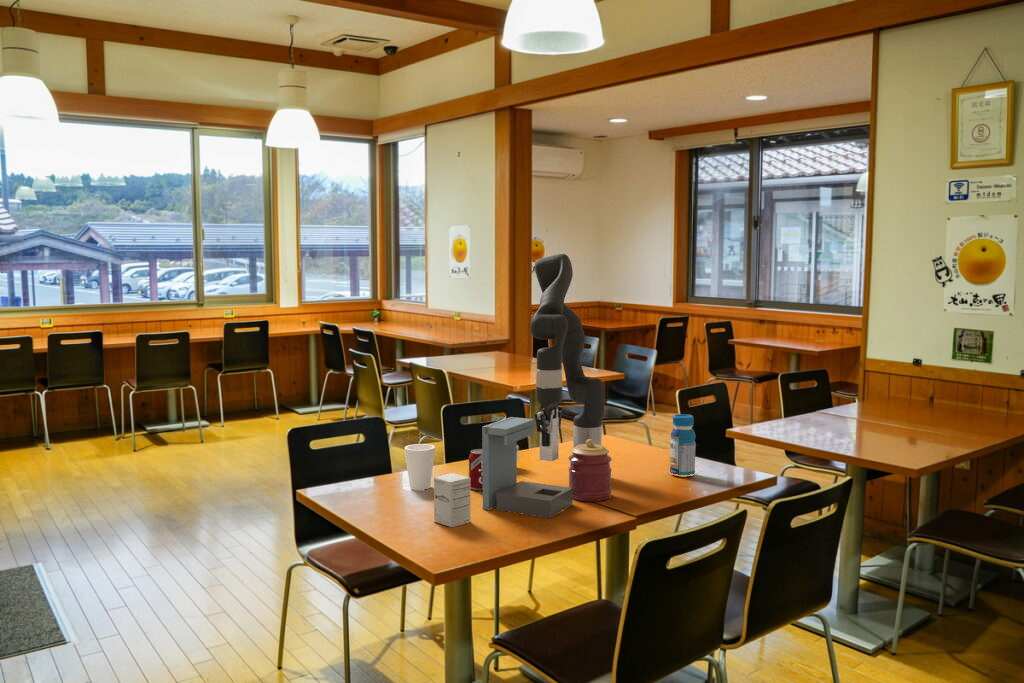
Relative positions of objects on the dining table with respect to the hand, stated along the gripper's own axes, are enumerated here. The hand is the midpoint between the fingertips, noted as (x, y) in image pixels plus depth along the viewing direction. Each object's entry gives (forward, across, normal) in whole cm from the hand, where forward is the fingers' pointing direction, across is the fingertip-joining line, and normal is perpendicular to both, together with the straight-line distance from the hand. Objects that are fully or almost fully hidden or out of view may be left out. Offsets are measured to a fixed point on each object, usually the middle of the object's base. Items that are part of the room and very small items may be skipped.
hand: (549, 444), depth 238 cm
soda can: (+19, -10, -29) cm, 36 cm away
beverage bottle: (+19, -56, +22) cm, 63 cm away
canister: (+19, -18, +5) cm, 27 cm away
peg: (+4, 0, 0) cm, 4 cm away
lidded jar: (+19, -36, -35) cm, 54 cm away
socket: (+19, 0, -4) cm, 19 cm away
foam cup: (+19, -2, -46) cm, 50 cm away
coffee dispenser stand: (+19, 0, -13) cm, 23 cm away
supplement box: (+19, +23, -18) cm, 35 cm away
